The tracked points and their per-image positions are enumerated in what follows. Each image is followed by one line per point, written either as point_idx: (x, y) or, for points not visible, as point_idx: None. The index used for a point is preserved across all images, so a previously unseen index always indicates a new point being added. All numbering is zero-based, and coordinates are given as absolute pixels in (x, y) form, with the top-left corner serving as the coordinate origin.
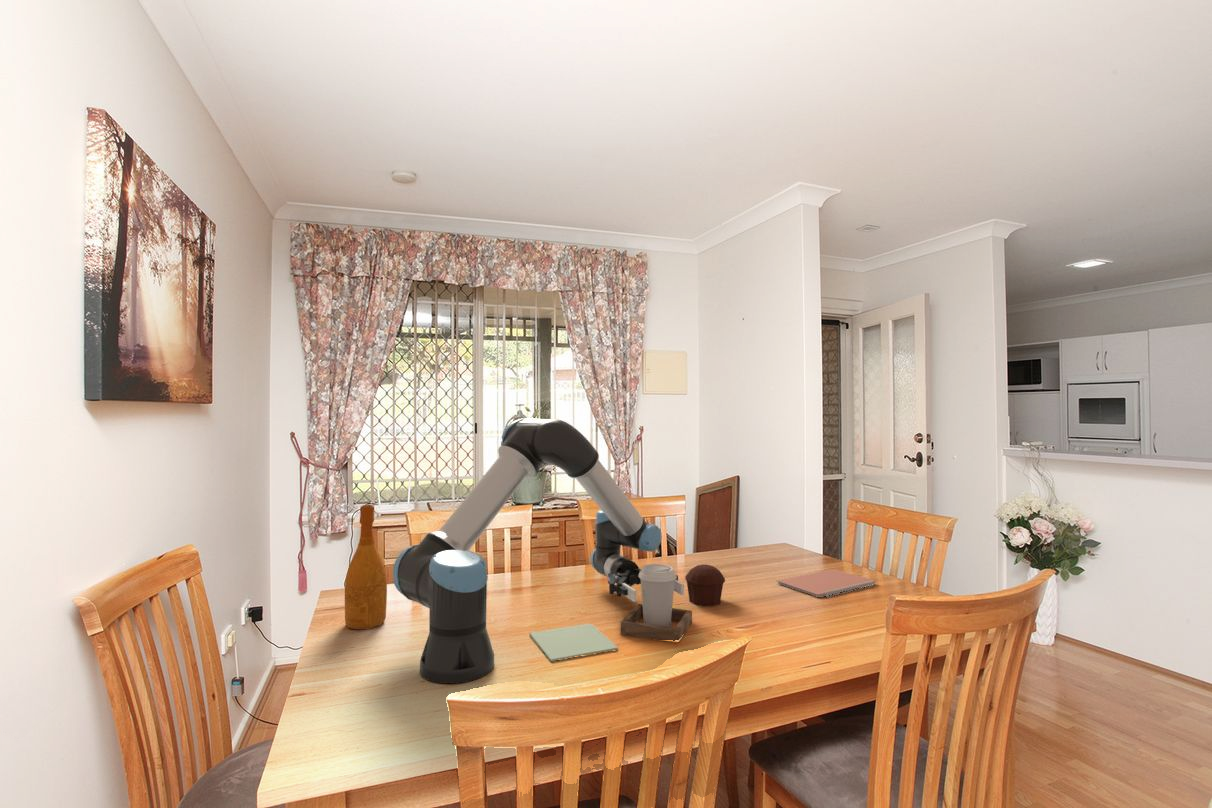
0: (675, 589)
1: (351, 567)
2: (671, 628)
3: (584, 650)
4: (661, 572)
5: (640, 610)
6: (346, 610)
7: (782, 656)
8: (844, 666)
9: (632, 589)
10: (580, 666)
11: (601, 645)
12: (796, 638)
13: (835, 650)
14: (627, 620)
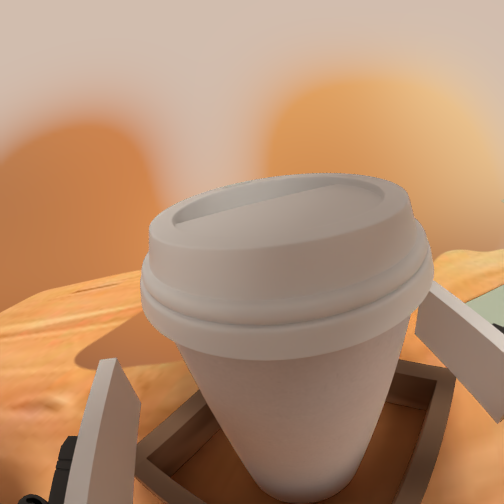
0: (129, 446)
1: None
2: None
3: (495, 299)
4: (279, 176)
5: None
6: None
7: (109, 304)
8: (75, 284)
9: (445, 293)
10: (477, 273)
11: None
12: (30, 343)
13: (37, 310)
14: (435, 387)
